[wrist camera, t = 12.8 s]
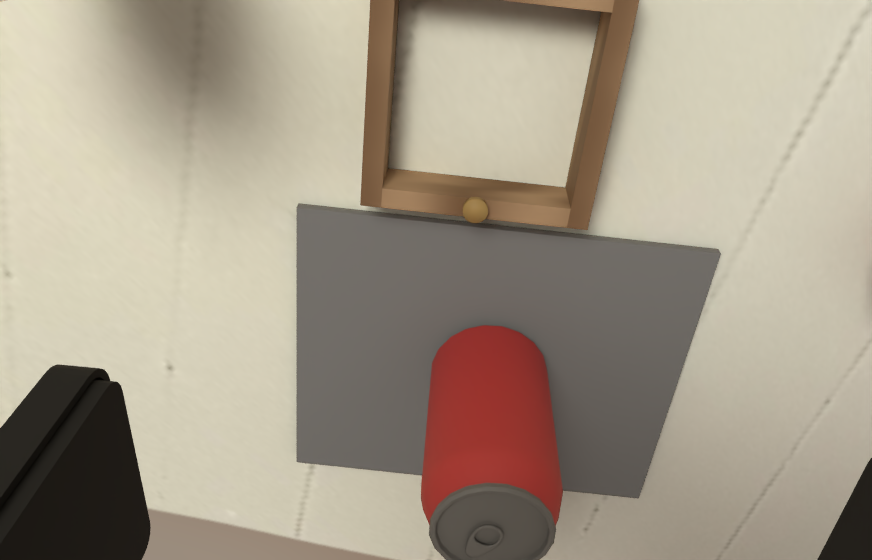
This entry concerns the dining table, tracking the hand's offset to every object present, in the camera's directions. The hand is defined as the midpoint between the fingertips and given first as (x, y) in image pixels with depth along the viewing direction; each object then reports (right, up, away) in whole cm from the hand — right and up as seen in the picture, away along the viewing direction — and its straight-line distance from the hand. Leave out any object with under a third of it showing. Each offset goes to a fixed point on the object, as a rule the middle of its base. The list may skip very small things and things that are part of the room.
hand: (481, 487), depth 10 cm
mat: (+2, -2, +34) cm, 34 cm away
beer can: (+2, -2, +34) cm, 34 cm away
